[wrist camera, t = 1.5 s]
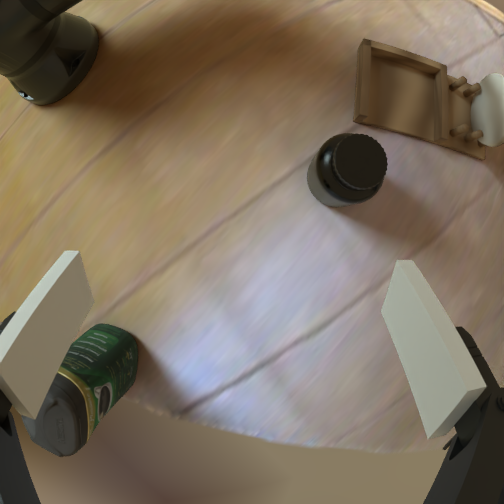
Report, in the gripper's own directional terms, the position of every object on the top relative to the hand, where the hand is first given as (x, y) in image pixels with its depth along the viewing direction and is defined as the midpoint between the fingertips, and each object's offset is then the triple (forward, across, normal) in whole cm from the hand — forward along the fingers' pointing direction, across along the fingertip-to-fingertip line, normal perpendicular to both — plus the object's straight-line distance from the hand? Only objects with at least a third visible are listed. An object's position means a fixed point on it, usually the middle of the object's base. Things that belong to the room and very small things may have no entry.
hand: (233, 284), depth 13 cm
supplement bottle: (+26, +10, -4) cm, 28 cm away
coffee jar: (+17, -18, -26) cm, 36 cm away
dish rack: (+30, +23, +7) cm, 39 cm away
